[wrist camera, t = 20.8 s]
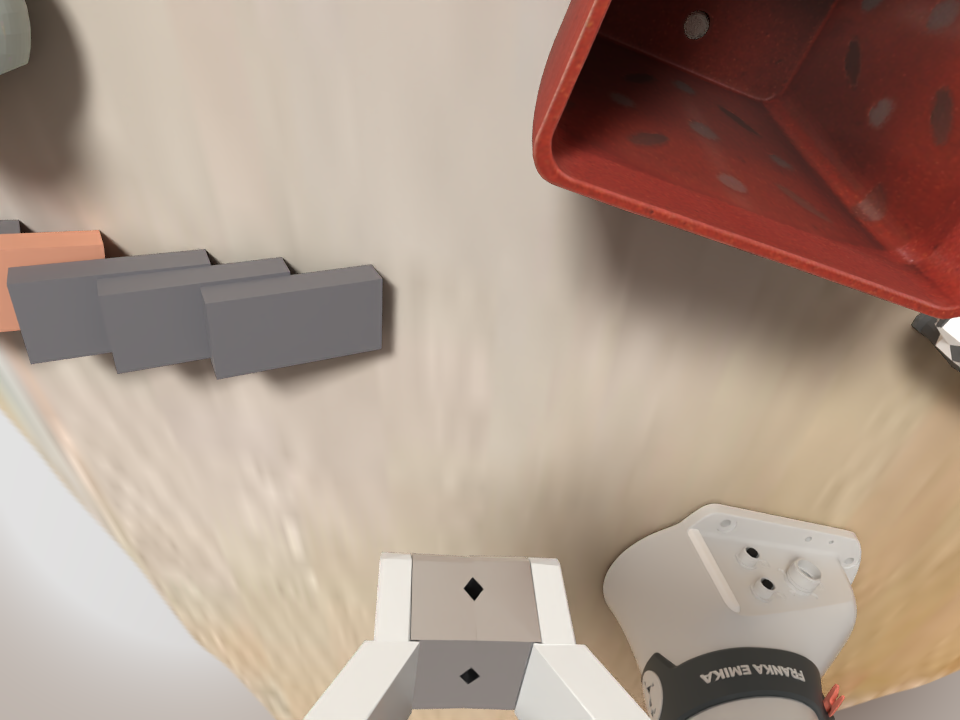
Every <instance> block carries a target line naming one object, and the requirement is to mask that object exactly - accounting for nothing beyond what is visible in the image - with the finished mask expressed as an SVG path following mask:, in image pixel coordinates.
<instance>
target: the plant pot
mask: <svg viewBox="0 0 960 720" xmlns="http://www.w3.org/2000/svg"><path fill="white" fill-rule="evenodd" d="M696 10H701V11H704V12H706V13H707V14H708V15H709V18H710V26H709V29H708V31H707V32H706V34H705V35H704V36H702V37H701V38H699V39H689V38H688V37H687V36H686V35H685V32H684V22H685V21H686V19H687V17H688V15H690V14H691V13H692V12H694V11H696ZM532 146H533V159H534V163H535V166H536V169H537V171H538V173H539V174H540V175H541V177H542V178H543V179H545V180H546V181H548V182H549V183H551V184H553V185H556V186H558V187H561V188H564V189H567V190H570V191H572V192H575V193H578V194H581V195H583V196H586V197H589V198H592V199H595V200H597V201H600V202H603V203H606V204H608V205H611V206H614V207H617V208H620V209H622V210H625V211H628V212H631V213H634V214H637V215H640V216H643V217H646V218H649V219H652V220H655V221H658V222H661V223H664V224H667V225H670V226H673V227H676V228H679V229H682V230H685V231H688V232H691V233H694V234H696V235H699V236H702V237H705V238H708V239H711V240H714V241H717V242H720V243H723V244H726V245H729V246H731V247H734V248H737V249H740V250H743V251H746V252H749V253H751V254H754V255H757V256H760V257H763V258H766V259H769V260H772V261H775V262H779V263H782V264H784V265H787V266H790V267H793V268H795V269H798V270H801V271H804V272H807V273H809V274H812V275H815V276H818V277H821V278H824V279H827V280H829V281H832V282H835V283H838V284H841V285H844V286H847V287H850V288H852V289H855V290H858V291H861V292H864V293H867V294H869V295H872V296H875V297H878V298H881V299H883V300H886V301H889V302H892V303H895V304H898V305H901V306H903V307H906V308H909V309H912V310H915V311H918V312H920V313H923V314H926V315H929V316H931V317H934V318H938V319H951V318H957V317H960V0H571V2H570V5H569V7H568V10H567V12H566V14H565V17H564V19H563V22H562V24H561V26H560V29H559V31H558V34H557V36H556V38H555V41H554V43H553V46H552V48H551V51H550V54H549V57H548V60H547V63H546V66H545V69H544V72H543V76H542V79H541V83H540V87H539V91H538V96H537V101H536V107H535V112H534V120H533V133H532Z"/></svg>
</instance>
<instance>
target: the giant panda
mask: <svg viewBox="0 0 960 720" xmlns="http://www.w3.org/2000/svg"><path fill="white" fill-rule="evenodd" d="M912 326H913V327H914V328H915V329H916V330H917V331H919V332H920V333H921V334H923V335H924V336H925V337H927V338H928V339H929V340H930V341H931V342H932V344H933V345H934V346H935V348H936V349H937V350H938V351H939V352H940V353H941V354H942V355H943V357H944V358H945V359H946V360H947V361H948V363H949V364H950V365H951V366H952V367H953V368H954V369H956V370H957V371H959V372H960V317H957V318H951V319H938V318H934V317H931V316H929V315H926V314H923V313H921V314H920V315H918V316H917V317H916V318H915V320H914V321H913V323H912Z"/></svg>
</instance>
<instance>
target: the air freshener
mask: <svg viewBox="0 0 960 720" xmlns="http://www.w3.org/2000/svg"><path fill="white" fill-rule="evenodd" d="M30 50H31V27H30V21H29V15H28V9H27V6H26V2H25V0H0V75H1V74H4V73H6V72H9V71H11V70H13V69H16V68H18V67H21V66H23V65H25V64H28V61H29V55H30Z"/></svg>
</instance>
